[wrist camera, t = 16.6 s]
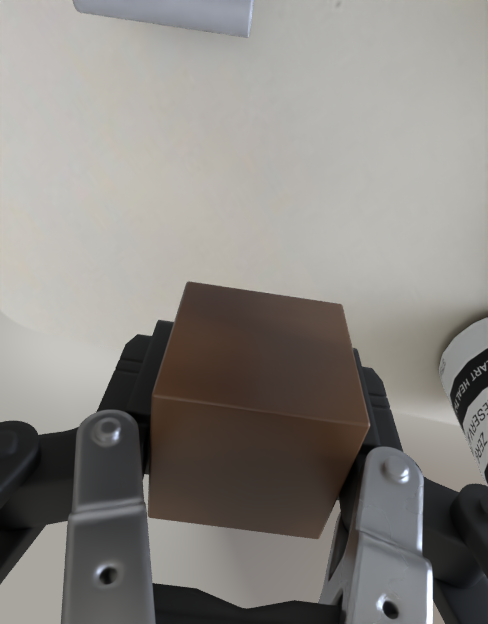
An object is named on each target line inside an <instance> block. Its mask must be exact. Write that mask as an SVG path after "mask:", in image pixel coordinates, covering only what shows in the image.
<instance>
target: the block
mask: <svg viewBox="0 0 488 624" xmlns="http://www.w3.org/2000/svg"><path fill="white" fill-rule="evenodd" d="M369 428H370V421H369V417H368V413H367V409H366V404H365V400H364V396H363V391H362V387H361V383H360V379H359V374H358V370H357V366H356V361H355V357H354V353H353V349H352V344H351V340H350V336H349V331H348V327H347V323H346V319H345V314H344V310H343V306H342V305H341V304H337V303H330V302H323V301H316V300H310V299H303V298H296V297H289V296H283V295H276V294H269V293H263V292H256V291H249V290H242V289H236V288H229V287H222V286H216V285H209V284H202V283H195V282H187V283H186V286H185V289H184V292H183V295H182V298H181V302H180V305H179V308H178V311H177V315H176V318H175V321H174V324H173V327H172V331H171V334H170V337H169V340H168V344H167V347H166V350H165V353H164V357H163V360H162V363H161V366H160V369H159V373H158V376H157V379H156V382H155V386H154V389H153V392H152V398H151V429H150V461H149V492H148V494H149V495H148V516H149V517H150V518H156V519H164V520H171V521H179V522H187V523H195V524H203V525H211V526H218V527H227V528H234V529H242V530H249V531H257V532H265V533H273V534H280V535H289V536H296V537H304V538H312V539H319V538H320V535H321V533H322V531H323V529H324V527H325V524H326V522H327V520H328V518H329V516H330V513H331V511H332V509H333V507H334V505H335V502H336V500H337V498H338V496H339V494H340V491H341V489H342V487H343V485H344V483H345V480H346V478H347V476H348V474H349V472H350V469H351V467H352V465H353V463H354V461H355V458H356V456H357V454H358V452H359V450H360V447H361V445H362V443H363V441H364V439H365V436H366V434H367V432H368V430H369Z"/></svg>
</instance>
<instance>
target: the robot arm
mask: <svg viewBox="0 0 488 624" xmlns="http://www.w3.org/2000/svg"><path fill="white" fill-rule="evenodd" d="M173 324H174V322H170V321H163V320H158V321H157V324H156V327H155V330H154V332H153V335H152V336H147V335H140V334H137V335H136V336H135V337H134V338H133V339H132V340H130V341H129V342H128V343H127V344H126V345H125V347H124V350H123V352H122V354H121V357H120V360H119V361H118V364H117V366H116V370H115V371H114V373H113V375H112V378H111V380H110V382H109V385H108V387H107V389H106V391H105V394H104V396H103V398H102V401H101V403H100V405H99V408H98V410H97V412H96V413H94V414H92V415H90V416H89V417H88V418H86V419H85V420H84V421H83V422H82V423H81V425H80V426H79V427H77V428H75V429H72V430H68V431H64V432H57V433H49V434H42V435H38V433H37V431H36V430H35V428H34V427H32V426H31V425H30V424H28V423H25V422H22V421H5V422H0V584H1V583H2V581H3V580H4V579H5V577H6V576H7V575H8V573H9V572H10V571H11V570H12V568H13V567H14V566H15V565H16V563H17V562H18V561H19V559H20V558H21V557H22V555H23V554H24V553H25V552H26V550H27V549H28V548H29V546H30V545H31V544H32V543H33V541H34V540H35V539H36V537H37V536H38V535H39V534H40V532H41V531H42V530H43V528H44V527H45V526H46V525H48V524H53V523H58V522H63V521H68V525H67V541H66V554H65V569H64V585H63V600H62V615H61V624H432V599H433V601H434V603H435V605H436V607H437V609H438V611H439V612H440V614H441V616H442V618H443V620H444V622H445V624H488V486H486V485H482V484H469V485H466V486H465V487H464V488H462V490H461V491H460V492H456V491H454V490H452V489H449V488H447V487H445V486H442V485H440V484H438V483H435V482H433V481H431V480H429V479H427V478H426V477H424V476H423V475H422V472H421V470H420V468H419V466H418V465H417V464H416V462H415V461H414V460H413V459H412V458H410V457H409V456H408V455H406V454H405V453H404V452H403V449H402V446H401V443H400V439H399V436H398V432H397V429H396V426H395V423H394V419H393V415H392V412H391V409H390V405H389V402H388V398H386V396H387V395H386V392H385V388H384V385H383V381H382V380H381V379H380V378H379V376H378V375H377V374H376V372H375V371H374V370H373V369H372V368H368V367H362V366H361V362H360V358H359V354H358V350H357V349H355V348H352V349H353V353H354V357H355V361H356V366H357V370H358V374H359V379H360V383H361V387H362V391H363V396H364V400H365V404H366V409H367V413H368V417H369V421H370V428H369V430H368V432H367V434H366V436H365V439H364V441H363V443H362V445H361V447H360V450H359V452H358V454H357V456H356V458H355V461H354V463H353V465H352V467H351V469H350V472H349V474H348V476H347V478H346V480H345V483H344V485H343V487H342V489H341V491H340V494H339V496H338V498H337V500H339V502H340V509H341V512H340V514H339V516H338V518H337V521H336V526H335V531H334V536H333V540H332V545H331V551H330V556H329V560H328V565H327V570H326V576H325V580H324V585H323V589H322V593H321V596H320V599H319V602H318V603H311V602H303V601H295V600H294V601H288V602H283V603H277V604H272V605H266V606H260V607H255V608H249V609H246V608H241V607H238V606H236V605H234V604H231V603H229V602H226V601H224V600H222V599H220V598H217V597H215V596H213V595H210V594H208V593H205V592H203V591H201V590H199V589H196V588H188V587H180V586H172V585H163V584H155V583H152V575H151V574H152V573H151V561H150V549H149V536H148V523H147V512H146V504H145V502H144V495H143V482H142V481H143V477H144V474H148V475H149V461H150V429H151V398H152V392H153V389H154V386H155V382H156V379H157V376H158V373H159V369H160V366H161V363H162V360H163V357H164V353H165V350H166V347H167V344H168V340H169V337H170V334H171V331H172V327H173Z"/></svg>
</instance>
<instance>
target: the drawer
mask: <svg viewBox="0 0 488 624" xmlns="http://www.w3.org/2000/svg"><path fill="white" fill-rule="evenodd" d="M253 2H254V0H73V3H74V6H75V8H76V10H77V11H78V12H80V13H86V14H93V15H100V16H106V17H113V18H120V19H126V20H133V21H139V22H146V23H153V24H159V25H166V26H173V27H179V28H186V29H193V30H199V31H206V32H213V33H219V34H226V35H233V36H239V37H246V38H248V37H249V34H250V28H251V20H252V12H253Z"/></svg>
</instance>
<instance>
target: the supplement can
mask: <svg viewBox="0 0 488 624" xmlns="http://www.w3.org/2000/svg"><path fill="white" fill-rule="evenodd" d="M439 374H440V378H441V382H442V385H443V387H444V390H445V392H446V394H447V397H448V399H449V401H450V403H451V406H452V408H453V410H454V413H455V415H456V417H457V419H458V422H459V424H460V426H461V429H462V431H463V433H464V435H465V438H466V440H467V442H468V445H469V447H470V449H471V451H472V454H473V456H474V458H475V460H476V463H477V465H478V467H479V470H480V472H481V474H482V476H483V479H484V481H485V483H486V486H488V317H487V318H485V319H482V320H480V321H477V322H475V323H473V324H472V325H470V326H469V327H468V328H466V329H465V330H464V331H462V332H461V333H460V334H458V335H457V336H456V337H455V338H454V339H453V340H452V342H451V343H450V344H449V346H448V347H447V348H446V350H445V351H444V353H443V354H442V358H441V362H440V366H439Z"/></svg>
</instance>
